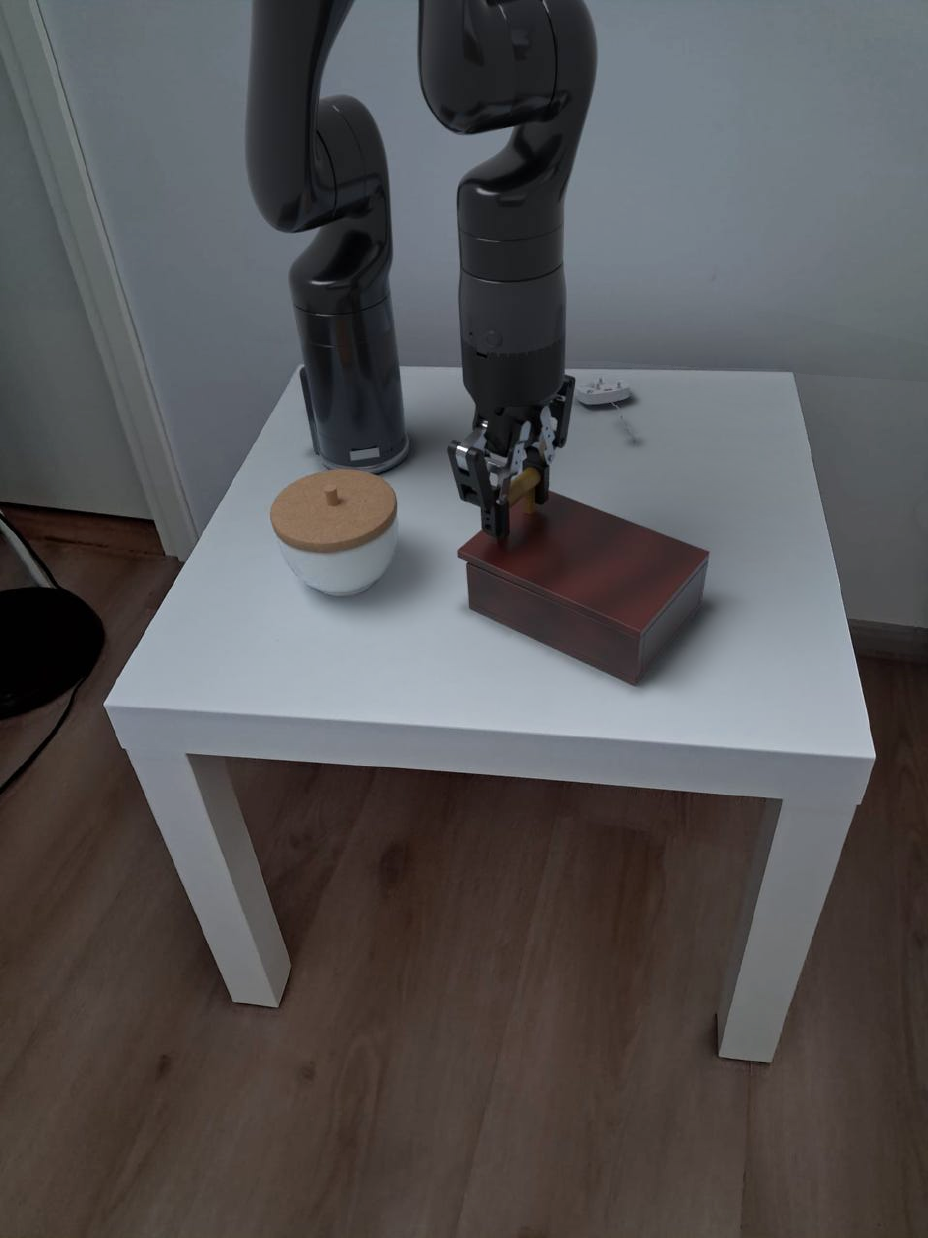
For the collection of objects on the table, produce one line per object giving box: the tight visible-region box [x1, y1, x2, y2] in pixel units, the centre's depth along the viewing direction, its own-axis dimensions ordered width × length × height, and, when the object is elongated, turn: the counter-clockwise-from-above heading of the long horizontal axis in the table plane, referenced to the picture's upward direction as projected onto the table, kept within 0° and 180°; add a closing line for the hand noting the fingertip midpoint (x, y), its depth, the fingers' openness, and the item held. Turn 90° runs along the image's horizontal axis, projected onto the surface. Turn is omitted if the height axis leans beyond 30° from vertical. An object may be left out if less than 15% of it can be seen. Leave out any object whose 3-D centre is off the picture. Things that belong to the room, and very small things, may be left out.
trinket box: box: [269, 469, 399, 597], centre depth 81 cm, size 11×11×9 cm
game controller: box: [576, 377, 636, 443], centre depth 101 cm, size 6×12×3 cm, turn 31°
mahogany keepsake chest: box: [465, 559, 709, 687], centre depth 77 cm, size 16×11×5 cm
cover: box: [456, 467, 711, 639], centre depth 74 cm, size 17×11×5 cm, turn 53°
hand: (516, 516), depth 78 cm, fingers closed on cover, 5 cm apart
